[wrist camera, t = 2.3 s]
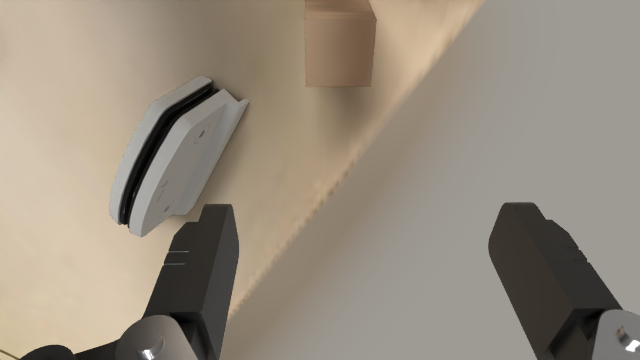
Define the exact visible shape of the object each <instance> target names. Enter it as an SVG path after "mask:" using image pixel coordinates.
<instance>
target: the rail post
mask: <svg viewBox="0 0 640 360" xmlns="http://www.w3.org/2000/svg"><path fill="white" fill-rule="evenodd" d="M376 20H377V19H376V17H375V14H374V12H373V10H372V8H371V5H370V3H369V1H368V0H306V2H305V64H306V87H342V86H371V77H372V65H373V54H374V43H375V31H376Z"/></svg>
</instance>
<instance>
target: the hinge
mask: <svg viewBox="0 0 640 360" xmlns="http://www.w3.org/2000/svg"><path fill="white" fill-rule="evenodd" d="M211 82H212V80H211V79H209V78H207V77H205V76H201V75H200V76H198V77H196V78H194V79H193V80H191V81H189V82H187V83H185V84H184V85H182V86H180V87H178V88H176V89H175V90H173V91H171V92H169V93H168V94H166V95H164V96H162V97H160V98H159V99H157V100H155V101H154V102H153V103H152V104H151V105H150V107H149V108H148V110H147V111H146V113H145V115H144V117H143V118H142V120H141V122H140V123H139V125H138V127H137V129H136V131H135V133H134V134H133V136H132V139H131V141H130V143H129V145H128V147H127V149H126V151H125V153H124V155H123V158H122V160H121V163H120V165H119V168H118V170H117V173H116V176H115V179H114V183H113V187H112V191H111V196H110V203H109V211H110V216H111V217H112V218H113V219H114V220H115V221H116V223H117V224H119V225H121V224H124V225H126V224H128V228H129V232H130V233H132V234H135V235H137V236H139V237H143V236H145V235H146V234H148V233H149V232H150V231H151V230H153V229H154V228H155V227H157V226H158V225H159V224H160V223H162V222H163V221H164V220H165V219H167V218H168V217H169V216H171V215H186V214H187V213H188V212H189V211H190V210H191V209H192V208H193V207H194V205H195V203H196V202H197V200H198V198H199V196H200V194H201V192H202V190H203V188H204V186H205V184H206V183H207V181H208V179H209V177H210V175H211V173H212V171H213V169H214V167H215V166H216V164H217V162H218V160H219V158H220V156H221V154H222V152H223V150H224V148H225V147H226V145H227V143H228V141H229V139H230V137H231V135H232V133H233V131H234V129H235V128H236V126H237V124H238V122H239V120H240V118H241V116H242V114H243V112H244V110H245V109H246V107H247V105H248V103H249V101H248V100H247V99H245V98H244V99H243V100H241V101H239V102H237V101H236V100H235V99H234V98H233V97H232V96H231V95H230V94H229V93H228V92H227V91H226V90H225V89H222V90H221V91H220V90H218V89H217V90H215V91H214V92H212V93H211V94H210V92H211V90H212V88H213V85H211Z"/></svg>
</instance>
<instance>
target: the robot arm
mask: <svg viewBox="0 0 640 360" xmlns="http://www.w3.org/2000/svg"><path fill="white" fill-rule="evenodd" d="M488 246H489V247H488V248H489V254H490V258H491V260H492V263H493V265H494V267H495V269H496V271H497V273H498V276H499V278H500V280H501V282H502V284H503V286H504V288H505V291H506V293H507V295H508V297H509V299H510V301H511V304H512V306H513V308H514V310H515V312H516V314H517V316H518V319H519V321H520V323H521V325H522V327H523V329H524V331H525V334H526V336H527V338H528V340H529V342H530V344H531V347H532V349H533V351H534V353H535V355H536V357H537V359H538V360H640V316H639V315H637V314H634V313H632V312H629V311H625V310H623V309H622V308H621V306H620V305H619V303H618V302H617V300H616V299H615V298H614V296H613V295H612V294H611V292H610V291H609V289H608V288H607V287H606V285H605V284H604V282H603V281H602V280H601V278H600V277H599V275H598V274H597V272H596V271H595V270H594V268H593V267H592V265H591V264H590V263H588V262H587V258H586V257H585V256H584V255H583V253H582V252H581V250H579V249H578V246H577V244H576V243H575V242H574V240H573V239H572V238H571V236H570V235H569V233H568V232H567V231H565V230H564V229H563V228H562V227H560V226H559V225H558V224H557V223H555V222H554V221H553V220H546V219H545V217H544V216H543V214H542V213H541V212H540V210H539V209H538V207H537V206H536V205H535V204H534V203H531V202H527V203H526V202H518V203H504V204H503V205H502V207H501V209H500V212H499V215H498V218H497V220H496V222H495V225H494V227H493V230H492V233H491V235H490V238H489V245H488ZM238 258H239V240H238V234H237V229H236V223H235V218H234V212H233V207H232V205H231V204H206V205H204V207H203V210H202V213H201V216H200V219H199V222H186V223H185V224H184V225H183V226H182V228H181V229H180V230H179V231H178V232H177V233H176V234H175V235H174V237H173V240H172V243H171V245H170V248H169V253H167V256H166V258H165V261H164V266H162V269H161V271H160V274H159V277H158V279H157V282H156V284H155V287H154V290H153V292H152V295H151V297H150V300H149V303H148V305H147V308H146V310H145V313H144V315H143V317H142V318H141V320H139V321H137V322H136V323H134V324H133V325H131V326H130V327H129V328H128V329H127V330H126V331H125V332H124V333H123V335H122V336H121V338H120V339H118V340H116V341H114V342H111V343H109V344H106V345H102V346H99V347H96V348H93V349H89V350H86V351H83V352H80V353H76V354H73V353H72V352H71V350H70V349H68V348H67V347H65V346H62V345H48V346H44V347H40V348H38V349H35V350H33V351H31V352H29V353H28V354H26V355H25V356H23V357H22V358H21V359H19V360H219V357H220V352H221V347H222V342H223V336H224V331H225V326H226V321H227V316H228V310H229V305H230V300H231V295H232V290H233V285H234V279H235V274H236V269H237V264H238Z"/></svg>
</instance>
